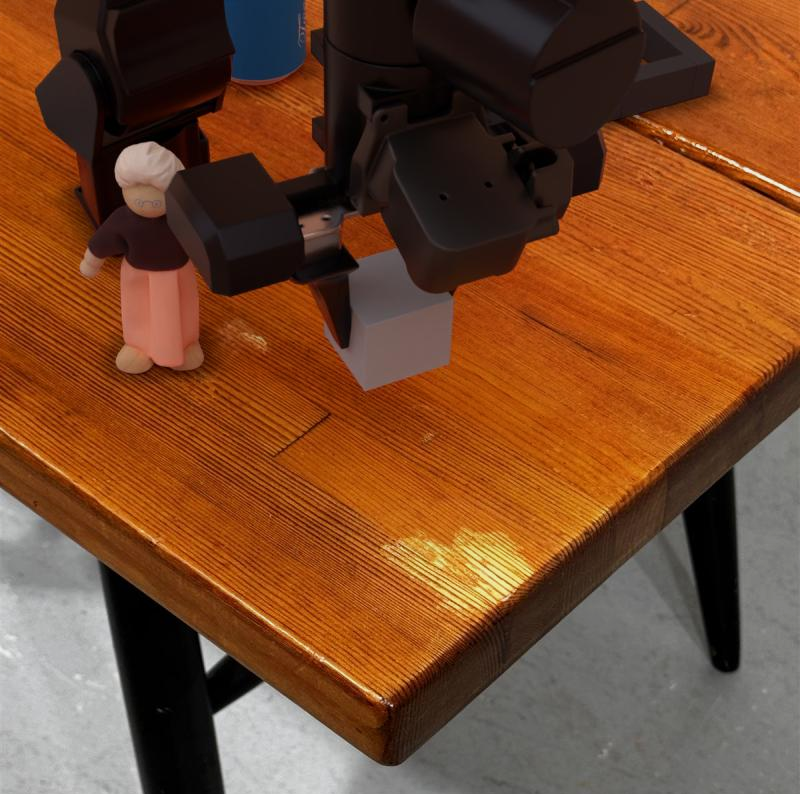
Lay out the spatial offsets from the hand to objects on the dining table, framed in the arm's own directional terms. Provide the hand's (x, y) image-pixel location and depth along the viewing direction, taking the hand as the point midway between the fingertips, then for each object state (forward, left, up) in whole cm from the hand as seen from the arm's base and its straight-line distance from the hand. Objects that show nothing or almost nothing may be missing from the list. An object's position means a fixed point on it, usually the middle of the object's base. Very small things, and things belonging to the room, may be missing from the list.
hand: (386, 329), depth 69 cm
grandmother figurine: (-8, +9, -6) cm, 13 cm away
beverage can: (+7, +33, -6) cm, 34 cm away
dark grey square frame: (+28, +22, -6) cm, 36 cm away
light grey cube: (0, 0, -1) cm, 1 cm away
